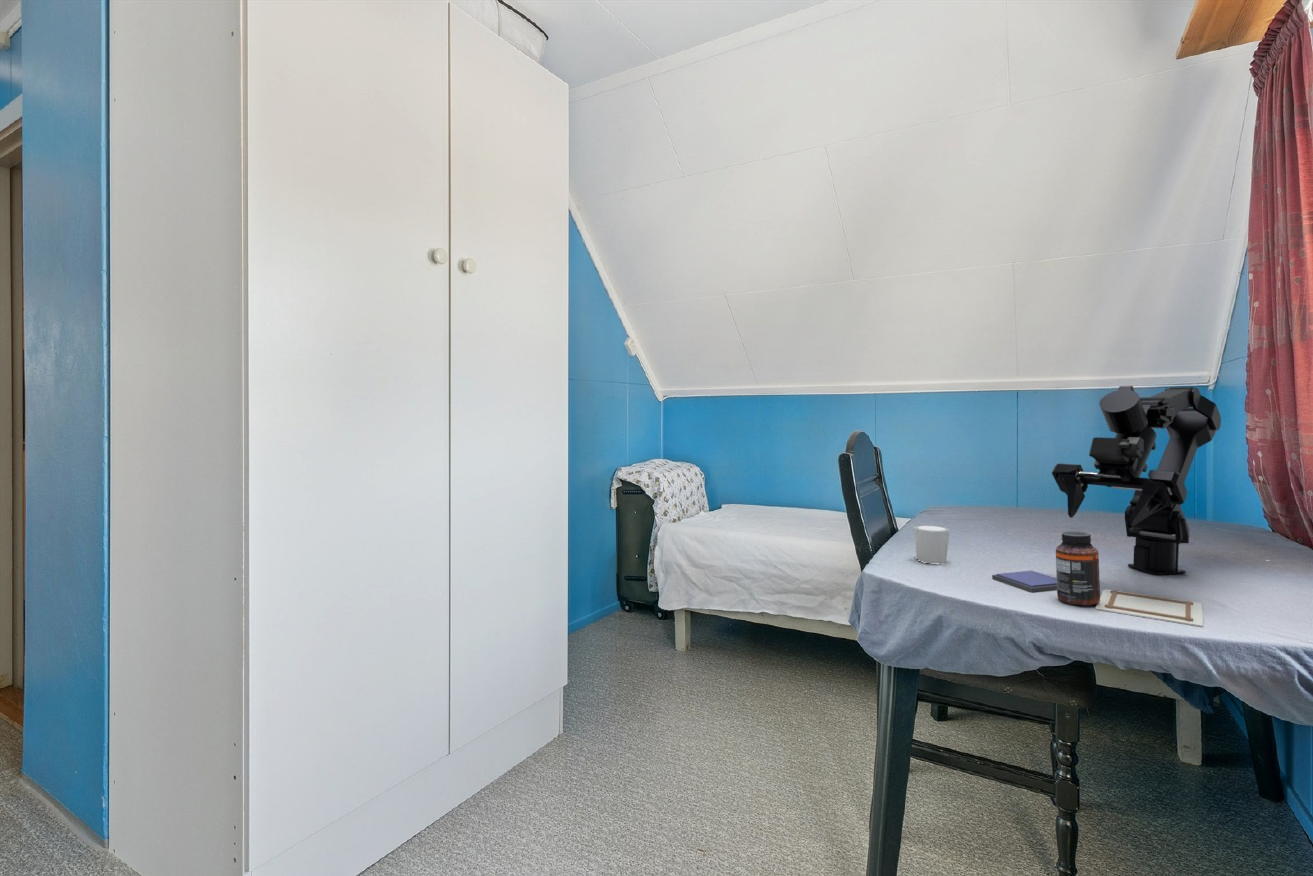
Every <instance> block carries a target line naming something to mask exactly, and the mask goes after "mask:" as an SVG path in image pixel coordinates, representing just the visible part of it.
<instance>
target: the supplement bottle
mask: <svg viewBox="0 0 1313 876" xmlns="http://www.w3.org/2000/svg"><path fill="white" fill-rule="evenodd" d="M1091 538H1092V536H1091V533H1089V532H1084V531H1077V530H1076V531H1074V530H1071V531H1064V532H1061V543H1060V544H1059V545H1057V546H1056V548H1055V567H1056V568H1055V569H1056V572H1055V573H1056V574H1055V575H1056V578H1057V590H1056V594H1057V599H1058V600H1059V601H1061V602H1063V603H1066V604H1069V605H1077V606H1093V605H1097V603H1099V602H1100V597H1101V585H1100V581H1101V580H1100V558H1099V557H1100V555H1099V550H1098V549H1097V547H1095V546H1093V545H1092V543H1091V542H1092V539H1091Z"/></svg>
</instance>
